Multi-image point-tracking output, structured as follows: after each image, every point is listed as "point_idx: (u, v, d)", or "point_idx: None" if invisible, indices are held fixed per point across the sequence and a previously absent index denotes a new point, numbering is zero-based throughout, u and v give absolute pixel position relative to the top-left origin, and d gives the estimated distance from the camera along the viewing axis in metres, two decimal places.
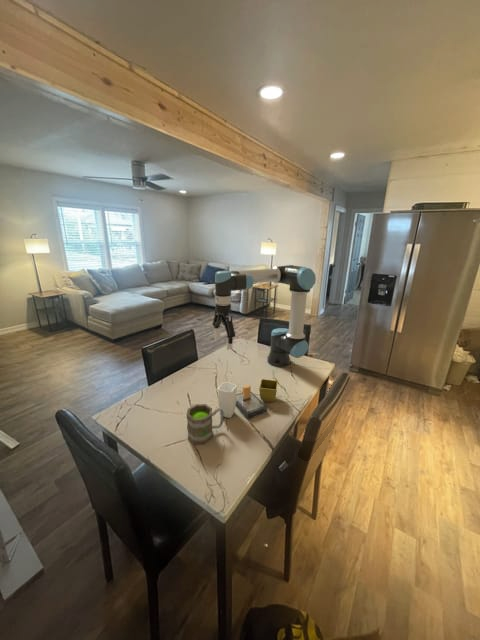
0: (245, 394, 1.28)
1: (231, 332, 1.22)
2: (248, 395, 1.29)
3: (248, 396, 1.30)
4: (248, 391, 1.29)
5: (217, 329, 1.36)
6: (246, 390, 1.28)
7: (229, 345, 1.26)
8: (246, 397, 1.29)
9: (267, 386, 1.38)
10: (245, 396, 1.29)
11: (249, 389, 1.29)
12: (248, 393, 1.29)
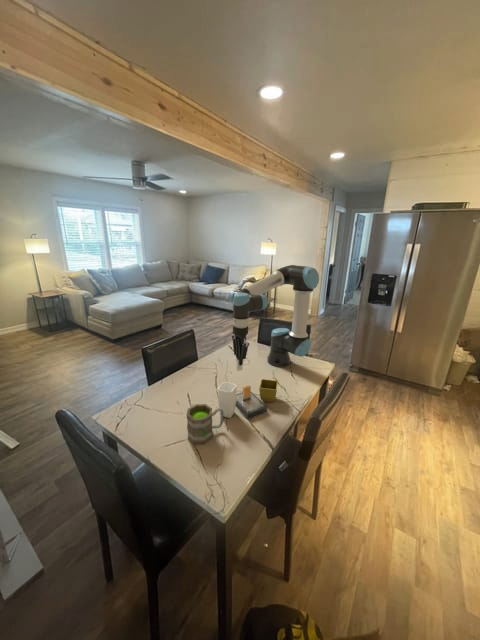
0: (245, 394, 1.28)
1: (243, 356, 1.25)
2: (248, 395, 1.29)
3: (248, 396, 1.30)
4: (248, 391, 1.29)
5: None
6: (246, 390, 1.28)
7: (239, 366, 1.30)
8: (246, 397, 1.29)
9: (267, 386, 1.38)
10: (245, 396, 1.29)
11: (249, 389, 1.29)
12: (248, 393, 1.29)
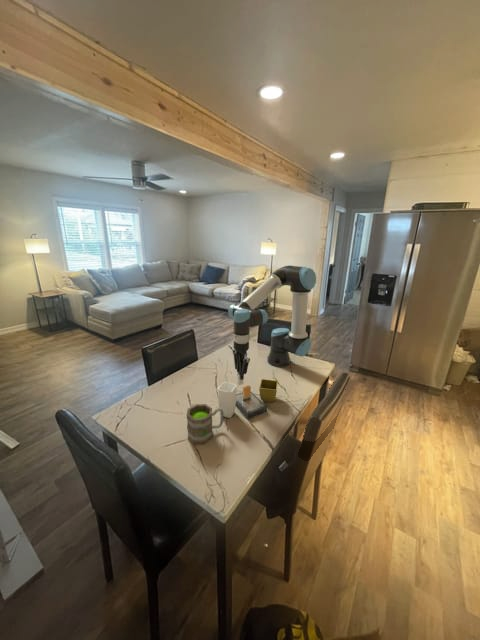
0: (245, 394, 1.28)
1: (244, 371, 1.27)
2: (248, 395, 1.29)
3: (248, 396, 1.30)
4: (248, 391, 1.29)
5: None
6: (246, 390, 1.28)
7: (240, 381, 1.32)
8: (246, 397, 1.29)
9: (267, 386, 1.38)
10: (245, 396, 1.29)
11: (249, 389, 1.29)
12: (248, 393, 1.29)
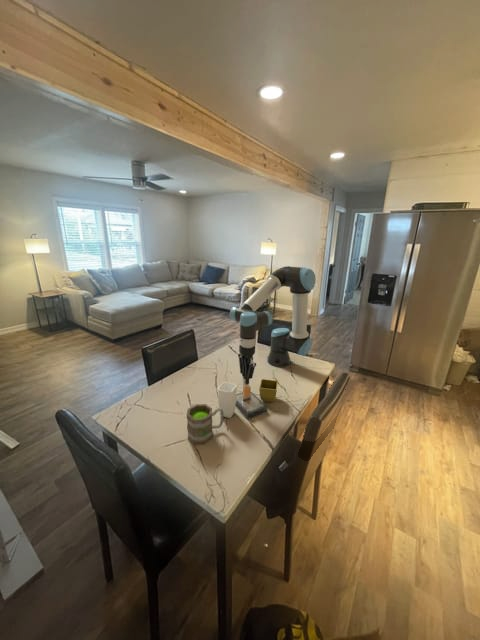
0: (245, 394, 1.28)
1: (249, 376, 1.23)
2: (248, 395, 1.29)
3: (248, 396, 1.30)
4: (248, 391, 1.29)
5: None
6: (246, 390, 1.28)
7: (245, 385, 1.28)
8: (246, 397, 1.29)
9: (267, 386, 1.38)
10: (245, 396, 1.29)
11: (249, 389, 1.29)
12: (248, 393, 1.29)
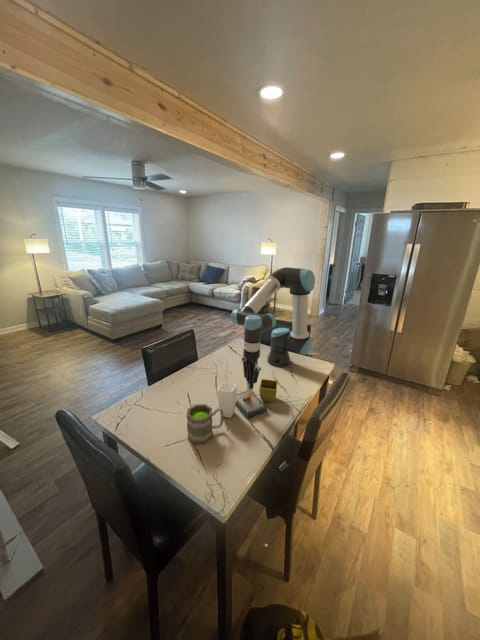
0: (246, 398, 1.27)
1: (254, 380, 1.20)
2: (249, 397, 1.29)
3: (248, 397, 1.30)
4: (250, 396, 1.27)
5: None
6: (249, 396, 1.26)
7: (250, 390, 1.25)
8: (246, 398, 1.29)
9: (267, 386, 1.38)
10: (246, 398, 1.28)
11: (252, 395, 1.27)
12: (249, 397, 1.28)
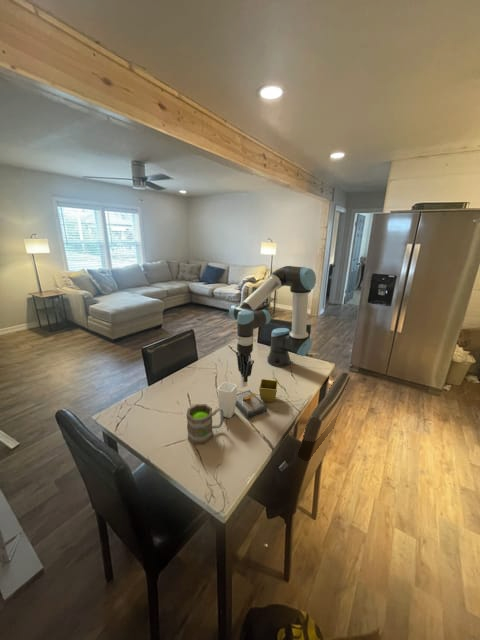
0: (247, 398, 1.27)
1: (248, 373, 1.25)
2: None
3: None
4: None
5: None
6: None
7: (244, 383, 1.30)
8: None
9: (267, 386, 1.38)
10: None
11: None
12: None
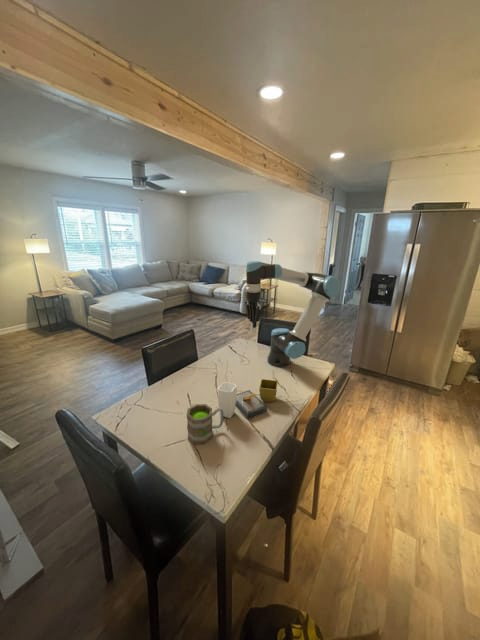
0: None
1: (257, 318, 1.40)
2: None
3: None
4: None
5: None
6: None
7: (253, 329, 1.45)
8: None
9: (267, 386, 1.38)
10: None
11: None
12: None
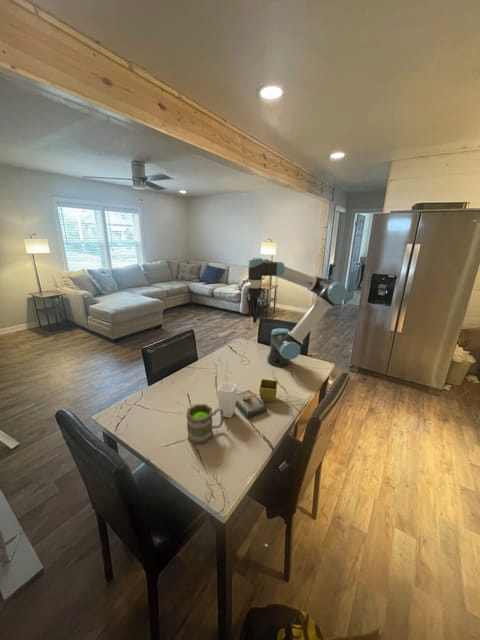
0: None
1: (257, 313, 1.44)
2: None
3: None
4: None
5: None
6: None
7: (253, 324, 1.49)
8: None
9: (267, 386, 1.38)
10: None
11: None
12: None
